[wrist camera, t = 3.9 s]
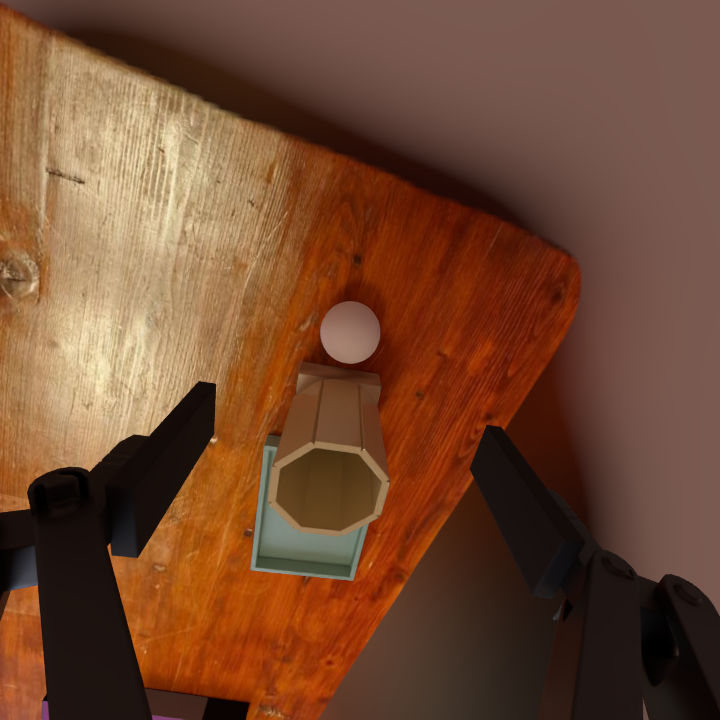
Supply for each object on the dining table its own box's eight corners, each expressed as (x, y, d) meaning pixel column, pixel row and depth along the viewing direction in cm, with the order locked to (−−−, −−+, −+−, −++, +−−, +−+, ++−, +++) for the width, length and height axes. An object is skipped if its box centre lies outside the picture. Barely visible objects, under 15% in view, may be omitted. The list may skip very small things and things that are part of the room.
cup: (384, 385, 33) (399, 452, 24) (366, 456, 36) (373, 541, 27) (296, 371, 32) (275, 434, 23) (286, 444, 35) (263, 528, 26)
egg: (312, 313, 33) (303, 338, 27) (358, 283, 32) (361, 301, 26) (342, 356, 35) (341, 389, 28) (387, 328, 34) (396, 356, 27)
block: (379, 373, 36) (381, 386, 33) (364, 437, 39) (365, 454, 36) (302, 361, 35) (298, 373, 32) (293, 427, 38) (288, 443, 35)
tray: (268, 434, 38) (264, 445, 36) (383, 450, 40) (385, 462, 38) (254, 555, 45) (250, 570, 44) (353, 566, 47) (353, 580, 45)
